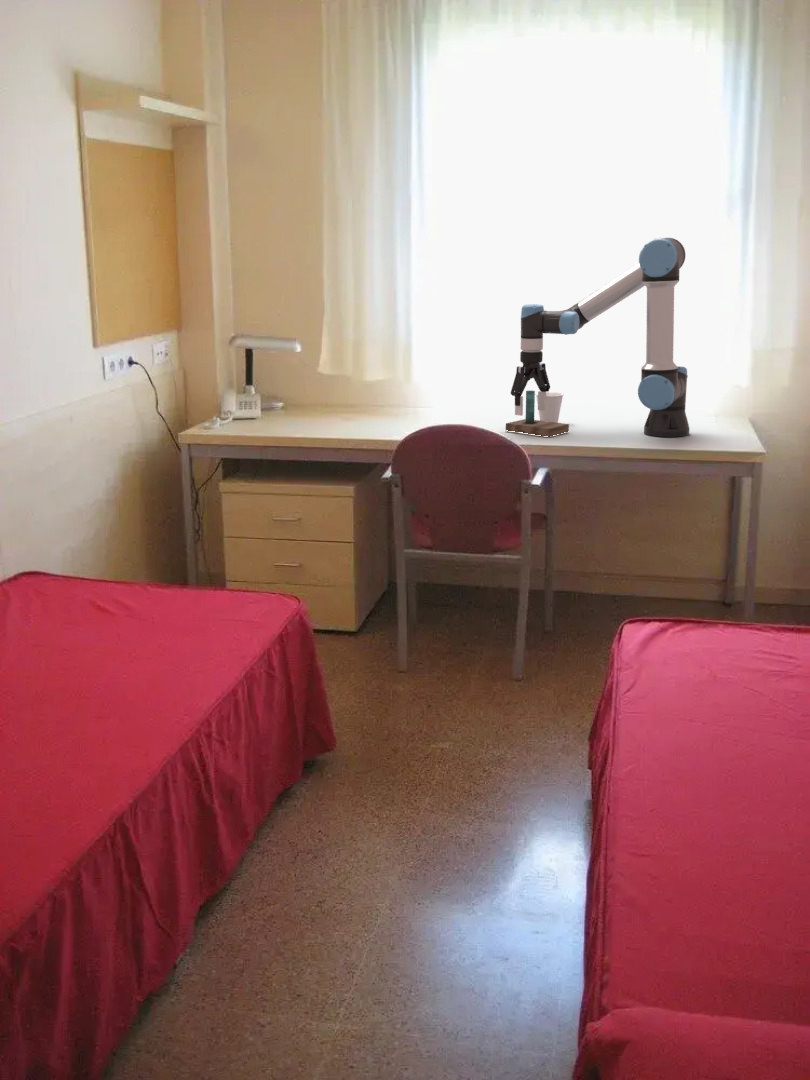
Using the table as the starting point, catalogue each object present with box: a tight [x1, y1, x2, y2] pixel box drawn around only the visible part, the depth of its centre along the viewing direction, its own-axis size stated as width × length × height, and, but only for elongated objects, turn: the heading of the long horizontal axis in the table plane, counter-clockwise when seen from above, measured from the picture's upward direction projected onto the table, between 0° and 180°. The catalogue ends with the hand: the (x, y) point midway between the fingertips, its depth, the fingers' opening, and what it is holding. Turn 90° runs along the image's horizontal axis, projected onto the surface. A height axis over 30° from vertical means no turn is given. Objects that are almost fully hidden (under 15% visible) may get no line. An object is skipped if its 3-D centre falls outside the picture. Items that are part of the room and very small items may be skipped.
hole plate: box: [505, 418, 570, 438], centre depth 397 cm, size 18×12×3 cm, turn 49°
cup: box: [535, 391, 564, 423], centre depth 411 cm, size 10×10×11 cm
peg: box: [525, 390, 536, 424], centre depth 397 cm, size 3×3×14 cm
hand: (530, 412), depth 397 cm, fingers open, 13 cm apart
